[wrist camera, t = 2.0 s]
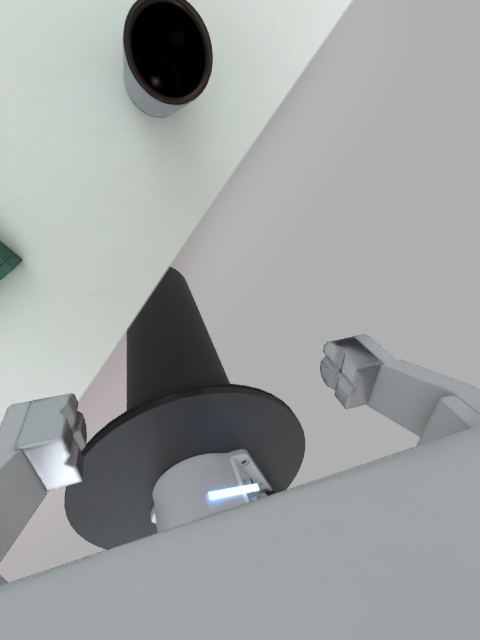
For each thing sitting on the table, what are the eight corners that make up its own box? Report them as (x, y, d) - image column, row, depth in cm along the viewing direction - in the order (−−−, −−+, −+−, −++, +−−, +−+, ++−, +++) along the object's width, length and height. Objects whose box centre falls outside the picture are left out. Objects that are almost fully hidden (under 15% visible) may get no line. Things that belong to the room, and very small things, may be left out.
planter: (191, 67, 24) (226, 29, 16) (172, 128, 26) (195, 122, 18) (133, 30, 22) (138, -37, 14) (117, 98, 24) (112, 75, 15)
